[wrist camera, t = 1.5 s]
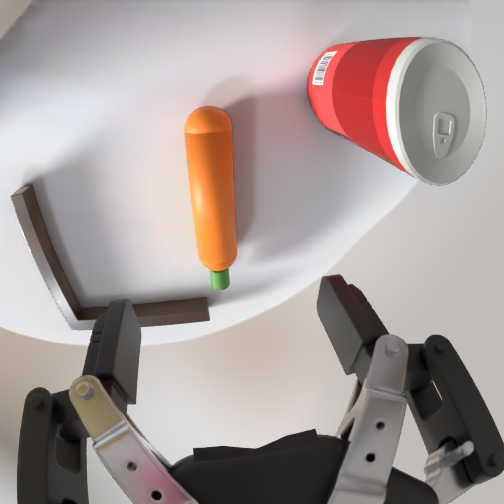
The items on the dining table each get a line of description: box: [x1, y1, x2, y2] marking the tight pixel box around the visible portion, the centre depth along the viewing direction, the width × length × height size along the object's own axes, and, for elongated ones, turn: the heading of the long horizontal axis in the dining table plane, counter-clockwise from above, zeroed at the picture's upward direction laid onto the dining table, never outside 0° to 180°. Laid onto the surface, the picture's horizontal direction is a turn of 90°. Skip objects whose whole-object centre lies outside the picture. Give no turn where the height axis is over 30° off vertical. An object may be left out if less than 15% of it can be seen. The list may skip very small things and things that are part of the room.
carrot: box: [185, 106, 237, 290], centre depth 21 cm, size 15×3×3 cm, turn 0°
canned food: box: [307, 37, 487, 186], centre depth 14 cm, size 8×8×11 cm
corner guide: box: [11, 185, 210, 330], centre depth 22 cm, size 16×16×2 cm
